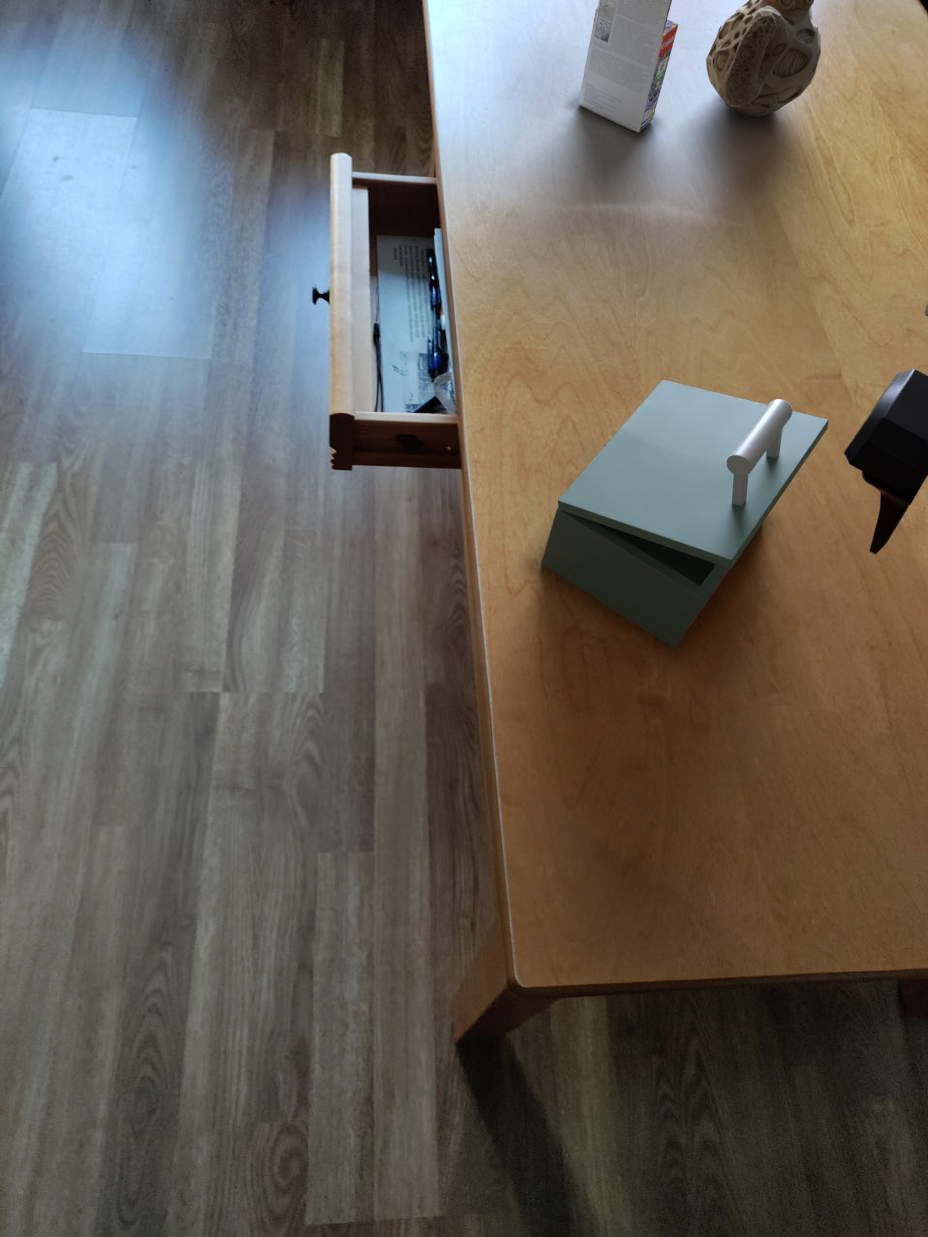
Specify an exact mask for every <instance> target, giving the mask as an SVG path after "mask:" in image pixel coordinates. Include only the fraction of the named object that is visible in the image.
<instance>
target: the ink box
mask: <svg viewBox="0 0 928 1237" xmlns="http://www.w3.org/2000/svg"><path fill="white" fill-rule="evenodd" d="M672 2H673V0H599V1H598V5H597V8H596V9H595V13H594V17H593V23H592V29H591V34H590V38H589V45H588V50H587V55H586V59H585V66H584V71H583V76H582V81H581V86H580V92H579V96H578V102H577V104H578V105H579V107H582V108H584V109H586V110H587V111H589V112H591V113H593V114H596V115H598V116H600V117H602V118H603V119H604V118H605V119H607V120H609V121H611V122H614V123H615V124H617V125H619V126H621V127H624V128H626V129H628V130H631V131H633V132H636V133H638V134H639V133H641V132H642V131H643V129H644V128H646V127H647V126H648V124H650V123H651V122H652V121H653V120H654V117H655V113H656V110H657V109H656V108H657V105H658V103H659V98H660V95H661V90H662V87H663V84H664V80H665V76H666V72H667V68H668V65H669V62H670V58H671V54H672V51H673V46H674V43H675V39H676V35H677V31H678V28H679V24H678V23H677V22H674V21H672V20H670V19H668V17H669V13H670V10H671V6H672Z"/></svg>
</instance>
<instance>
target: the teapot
mask: <svg viewBox="0 0 928 1237" xmlns="http://www.w3.org/2000/svg"><path fill="white" fill-rule="evenodd" d="M814 2H815V0H748V1H747V2H745V3H744V4H743V5H742V6H740V7H738V9H737V10H735V11H734V12H733V13H732V14H731V15H730V16H729V17H728V18H727V19H725V21H724V22H723V24H722V25H720V26H719V28H718V30H717V34H716V36H715V39H714V40H713V43H712V45H711V48H710V50H709V51H708V54H707V56H706V58H705V66H706V72H707V77H708V81H709V83H710V85H711V86H712V87H713V88H714V90H715V91H716V93H717V94H718V96H719V97H720V98H721V100H722V101H723V103H724V104H725V105H726V106H727V107H729V108H730V109H733V110H734V111H736V112H739V113H740V114H743V115H746V116H748V117H750V118H758V117H763V116H765V115H769V114H771V113H773V112H776V111H780V109H783V107H785V106H787V105H788V104H789V103H792V102H793V101H794V100H796V99H798V98H799V97H801V95H803V93H804V92H805V90H806V89H807V88H808V87H809V86H810V85H811V84H812V81H813V79H814V77H815V75H816V72H817V69H818V64H819V60H820V58H821V54H822V49H821V48H822V45H821V43H822V42H821V39H822V38H821V37H822V36H821V34H820V32H819V26H818V25H817V24H816V23H815V22H814V20H813V12H812V10H813V9H812V6H813V5H814Z"/></svg>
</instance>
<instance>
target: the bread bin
mask: <svg viewBox="0 0 928 1237" xmlns="http://www.w3.org/2000/svg"><path fill="white" fill-rule="evenodd" d="M540 564H541V565H542V566H544V567H546V568H547V569H549V570H550V571H552V572H553V573H555V574H557V575H558V576H560V577H561V578H563V579H564V580H565V581H568V582H569V583H570V584H572V585H574V586H575V587H577V588H579V590H582V591H583V592H584V593H586V594H588V595H589V596H591V597H593V598H594V599H596V600H597V601H599V602H600V603H601V604H603V605H605V606H607V607H608V608H609V609H612V610H613V611H614V612H615V613H617V614H619V615H621V616H622V617H623V618H625V619H627V620H628V621H630V622H632V623H633V624H634V625H636V626H638V627H639V628H641V629H642V630H644V631H645V632H647V633H649V635H652V636H653V637H654V638H656V639H658V640H659V641H660V642H662V643H664V644H665V645H667V646H668V647H670V648H672V649H673V650H675V649H676V648H677V646H678V645H679V644H680V642H681V641H682V639H683V638H684V636H685V635H686V633H687V632H688V630H689V629H690V628H691V626H692V625H693V623H694V621H695V620H696V618H697V617H698V616H699V614H700V613H701V612H702V610H703V609H704V607H705V606H706V605H707V603H708V601H709V600H710V598H711V597H712V595H713V594H714V593H715V591H716V590H717V588H718V587H719V585H720V584H721V582H722V581H723V579H725V577H726V575H727V574H728V572H729V571H730V570H731V569H730V568H727V567H724V566H721V565H718V564H715V563H712V562H710V561H707V560H704V559H701V558H698V557H695V556H692V555H689V554H687V553H684V552H681V551H678V550H675V549H672V548H669V547H666V546H664V545H661V544H658V543H655V542H652V541H649V540H646V539H643V538H641V537H638V536H635V535H632V534H629V533H626V532H623V531H620V530H618V529H615V528H612V527H609V526H606V525H603V524H600V523H597V522H595V521H592V520H589V519H586V518H583V517H580V516H577V515H574V514H572V513H569V512H566V511H563V510H560V509H559V507H558V506H557V508H556V510H555V514H554V518H553V521H552V524H551V528H550V531H549V535H548V538H547V542H546V545H545V548H544V552H543V555H542V558H541V562H540Z"/></svg>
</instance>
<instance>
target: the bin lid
mask: <svg viewBox="0 0 928 1237" xmlns="http://www.w3.org/2000/svg"><path fill="white" fill-rule="evenodd" d="M829 423H830V422H829V419H828V418H823V417H819V416H815V415H811V414H807V413H802V412H798V411H795V410H793V408H792V405H791V404H790V402H788V401H786V400H785V399H781V398H780V399H779V398H777V399H772V400H771V401H770V402H769V403H768V404H766V403H761V402H757V401H752V400H749V399H745V398H741V397H736V396H733V395H728V394H724V393H720V392H716V391H712V390H708V389H703V388H699V387H695V386H690V385H686V384H682V383H679V382H674V381H670V380H666V379H662V380H661V381H659V383H658V384H657V386H656V387H655V388H654V389H653V390H652V391H651V393H650V394H649V395H648V396H647V397H646V398H645V399H644V400H643V402H642V403H641V404H640V405H639V406H638V407H637V409H636V410H635V411H634V412H633V413H632V414H631V415H630V417H629V418H628V419H627V420H626V421H625V422H624V423H623V425H622V426H621V427H620V428H619V429H618V430H617V432H615V434H614V435H613V436H612V437H611V439H609V441H608V442H607V443H606V444H605V445H604V446H603V447H602V449H601V450H600V451H599V452H598V453H597V454H596V456H595V457H594V458H593V459H592V460H591V461H590V463H589V464H588V465H586V467H585V468H584V470H583V471H582V472H581V473H580V474H579V475H578V476H577V477H576V479H575V480H574V481H573V482H572V483H571V484H570V486H568V488H567V489H566V490H565V491H564V493H563V494H562V495H561V496H560V497H559V498H558V499H557V505H558V506H557V508H558V507H559V509H560V510H563V511H566V512H569V513H572V514H574V515H577V516H580V517H583V518H586V519H589V520H592V521H595V522H597V523H600V524H603V525H606V526H609V527H612V528H615V529H618V530H620V531H623V532H626V533H629V534H632V535H635V536H638V537H641V538H643V539H646V540H649V541H652V542H655V543H658V544H661V545H664V546H666V547H669V548H672V549H675V550H678V551H681V552H684V553H687V554H689V555H692V556H695V557H698V558H701V559H704V560H707V561H710V562H712V563H715V564H718V565H721V566H724V567H727V568H730V569H729V570H731V569H732V568H733V567H734V566H735V564H736V563H737V561H738V560H739V559H740V557H741V555H742V554H743V552H744V551H745V549H747V547H748V545H749V543H750V542H751V541H752V539H753V538H754V537H755V535H756V534H757V532H758V530H759V529H760V527H761V526H762V525H763V523H764V522H765V521H766V519H767V518H768V516H769V515H770V513H771V511H773V509H774V507H775V506H776V504H777V503H778V501H779V500H780V498H781V497H782V495H783V494H784V493H785V491H786V489H787V488H788V487H789V485H790V484H791V482H792V481H793V480H794V479H795V477H796V475H797V474H798V472H799V471H800V469H801V467H803V465H804V463H805V462H806V461H807V459H808V458H809V456H810V455H811V453H812V452H813V451H814V449H815V448H816V447H817V445H818V443H819V442H820V441H821V439H822V438H823V436H824V434H825V433H826V431H827V430H828V428H829Z"/></svg>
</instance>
